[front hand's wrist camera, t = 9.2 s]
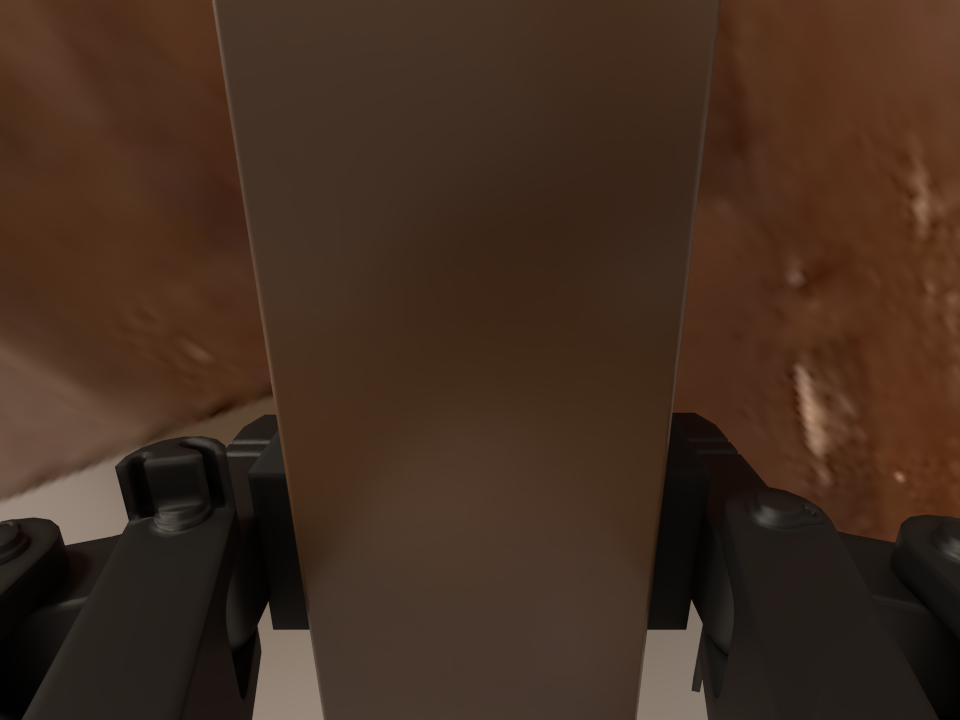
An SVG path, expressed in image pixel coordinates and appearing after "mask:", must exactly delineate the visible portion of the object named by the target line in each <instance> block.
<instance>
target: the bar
mask: <svg viewBox="0 0 960 720" xmlns="http://www.w3.org/2000/svg"><path fill="white" fill-rule="evenodd" d="M720 3H721V0H212V5H213V11H214V18H215V24H216V31H217V37H218V43H219V50H220V56H221V63H222V69H223V76H224V82H225V88H226V95H227V101H228V108H229V114H230V120H231V127H232V133H233V140H234V146H235V153H236V159H237V165H238V172H239V178H240V185H241V191H242V198H243V204H244V210H245V217H246V223H247V230H248V236H249V242H250V249H251V255H252V262H253V268H254V275H255V281H256V287H257V294H258V300H259V307H260V313H261V319H262V326H263V332H264V339H265V345H266V352H267V358H268V364H269V371H270V377H271V384H272V390H273V396H274V403H275V409H276V416H277V422H278V429H279V435H280V441H281V448H282V454H283V461H284V467H285V474H286V480H287V486H288V493H289V499H290V506H291V512H292V518H293V525H294V531H295V538H296V544H297V551H298V557H299V563H300V570H301V576H302V583H303V589H304V595H305V602H306V608H307V615H308V621H309V628H310V634H311V640H312V647H313V653H314V660H315V666H316V672H317V679H318V685H319V692H320V698H321V705H322V711H323V717H324V720H637V711H638V703H639V694H640V686H641V677H642V669H643V660H644V652H645V643H646V635H647V626H648V618H649V609H650V601H651V592H652V583H653V575H654V566H655V558H656V549H657V541H658V532H659V524H660V515H661V507H662V498H663V490H664V481H665V473H666V464H667V456H668V447H669V438H670V430H671V421H672V413H673V404H674V396H675V387H676V379H677V370H678V362H679V353H680V345H681V336H682V327H683V319H684V310H685V302H686V293H687V285H688V276H689V268H690V259H691V251H692V242H693V234H694V225H695V217H696V208H697V200H698V191H699V182H700V174H701V165H702V157H703V148H704V140H705V131H706V123H707V114H708V106H709V97H710V89H711V80H712V72H713V63H714V54H715V46H716V37H717V29H718V20H719V12H720Z"/></svg>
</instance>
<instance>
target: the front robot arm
mask: <svg viewBox="0 0 960 720" xmlns="http://www.w3.org/2000/svg"><path fill="white" fill-rule="evenodd" d="M115 469H116V473H117V477H118V480H119V484H120V488H121V492H122V496H123V500H124V503H125V507H126V511H127V515H128V519H129V522H128V524H127V526H126V528H125V530H124V531H123V533H122V534H120V535H116V536H112V537H107V538H102V539H97V540H92V541H86V542H81V543H76V544H71V545H64V541H63V538H62V535H61V532H60V529H59V526H57V525H56V524H55V523H54V522H52V521H51V520H48V519H41V518H25V519H11V520H7V521H2V522H0V720H252V716H253V709H254V702H255V695H256V687H257V680H258V673H259V665H260V658H261V645H260V638H259V632H258V626H257V625H258V623H259V621H260V618H261V616H262V614H263V612H264V610H265V608H266V605H267V603H268V601H269V607H270V612H271V618H272V625H273V629H274V630H310V628H309V621H308V615H307V608H306V602H305V595H304V589H303V583H302V576H301V570H300V563H299V557H298V551H297V544H296V538H295V531H294V525H293V518H292V512H291V506H290V499H289V493H288V486H287V480H286V474H285V467H284V461H283V454H282V448H281V441H280V435H279V429H278V422H277V416H276V415H264V416H262V417H260V418H259V419H257V420H255V421H253V422H252V423H250V424H248V425H247V426H245V427H244V428H243V429H242V430H241V431H240V432H239V434H238V435H237V436H236V437H235V438H234V440H233V441H232V444H230V445H229V446H228V447H227V448H226V447H225V445H224V444H222V443H221V442H220V441H218V440H217V439H212V438H207V437H202V436H200V437H180V438H174V439H169V440H163V441H160V442H157V443H154V444H151V445H148V446H145V447H143V448H141V449H139V450H137V451H135V452H133V453H131V454H130V455H128V456H126V457H125V458H124V459H123V460H122V461H121V462H120V463H118V464H117V465H116V466H115ZM691 599H692V601H693V604H694V606H695V608H696V610H697V612H698V614H699V616H700V619H701V621H702V623H703V627H702V632H701V638H700V643H699V649H698V655H697V660H696V666H695V671H694V677H693V684H692V691H696V692H700V688H701V683H702V679H703V686H704V693H705V700H706V707H707V715H708V720H960V519H958V518H953V517H948V516H946V517H944V516H934V515H921V516H913V517H909V518H908V519H907V520H906V521H904V522H903V523H902V524H901V527H900V530H899V533H898V536H897V539H896V543H893V542H888V541H882V540H877V539H872V538H867V537H861V536H856V535H851V534H846V533H842V532H838V531H837V530H836V528H835V527H834V525H833V523H832V521H831V520H830V518H829V517H828V516H827V515H826V514H825V513H824V512H823V510H822V509H821V508H819V507H818V506H816V505H815V504H813V503H811V502H810V501H808V500H807V499H805V498H803V497H800V496H798V495H795V494H793V493H790V492H788V491H785V490H780V489H775V488H771V487H768V486H767V485H766V484H765V483H764V482H763V480H762V479H761V478H760V477H759V476H758V475H757V473H756V472H755V471H754V470H753V469H752V467H751V466H750V465H749V464H748V463H747V461H746V460H745V459H744V458H743V457H742V456H741V454H738V451H737V450H736V448H735V447H734V446H733V445H732V444H731V443H730V442H728V439H727V438H726V437H725V435H724V434H723V433H722V432H721V431H720V430H719V428H718V427H717V426H716V425H715V424H713V423H711V422H710V421H708V420H706V419H705V418H703V417H701V416H699V415H698V414H696V413H672V421H671V430H670V438H669V447H668V456H667V464H666V473H665V481H664V490H663V498H662V507H661V515H660V524H659V532H658V541H657V549H656V558H655V566H654V575H653V583H652V592H651V601H650V609H649V618H648V626H647V630H686V628H687V622H688V616H689V610H690V604H691Z"/></svg>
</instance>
